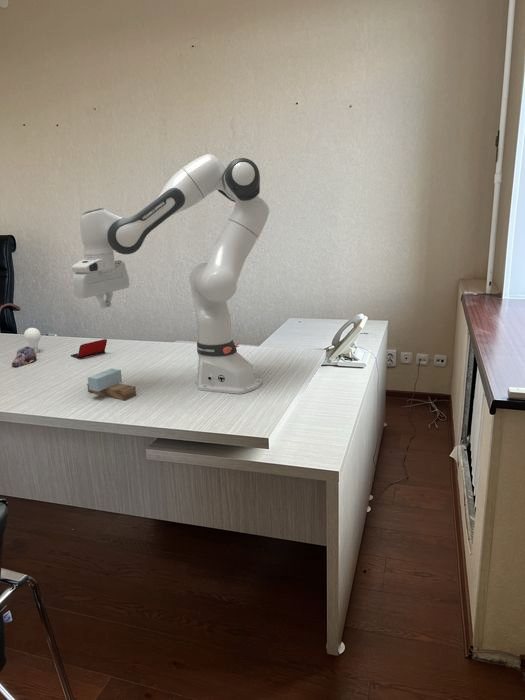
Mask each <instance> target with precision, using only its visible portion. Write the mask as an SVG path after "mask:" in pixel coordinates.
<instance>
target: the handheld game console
mask: <svg viewBox="0 0 525 700" xmlns="http://www.w3.org/2000/svg"><path fill="white" fill-rule="evenodd" d="M107 342H108V339H106V338H104V339H100V340H96V341H91V342H87V343H82V344H80V346H79V349H78V352H77V353H74V354H71V355H70V357H72V358H75V359H77V360H79V359H85V358H87V357H93V356H97V355H101V354H105V353H106V346H107ZM84 357H85V358H84Z"/></svg>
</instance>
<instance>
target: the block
mask: <svg viewBox="0 0 525 700" xmlns="http://www.w3.org/2000/svg"><path fill="white" fill-rule="evenodd" d="M122 382H123V378H122V371H121V369H117V368H109V369H107V370H105V371H104V370H103V371H101V372H98V373H96V374H93V375H90V376H87V384H88V385H89V390H93V391H101V390H103V389H106V388H108V387H111V386H113V385H116V384H118V383H120V384H122Z"/></svg>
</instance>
